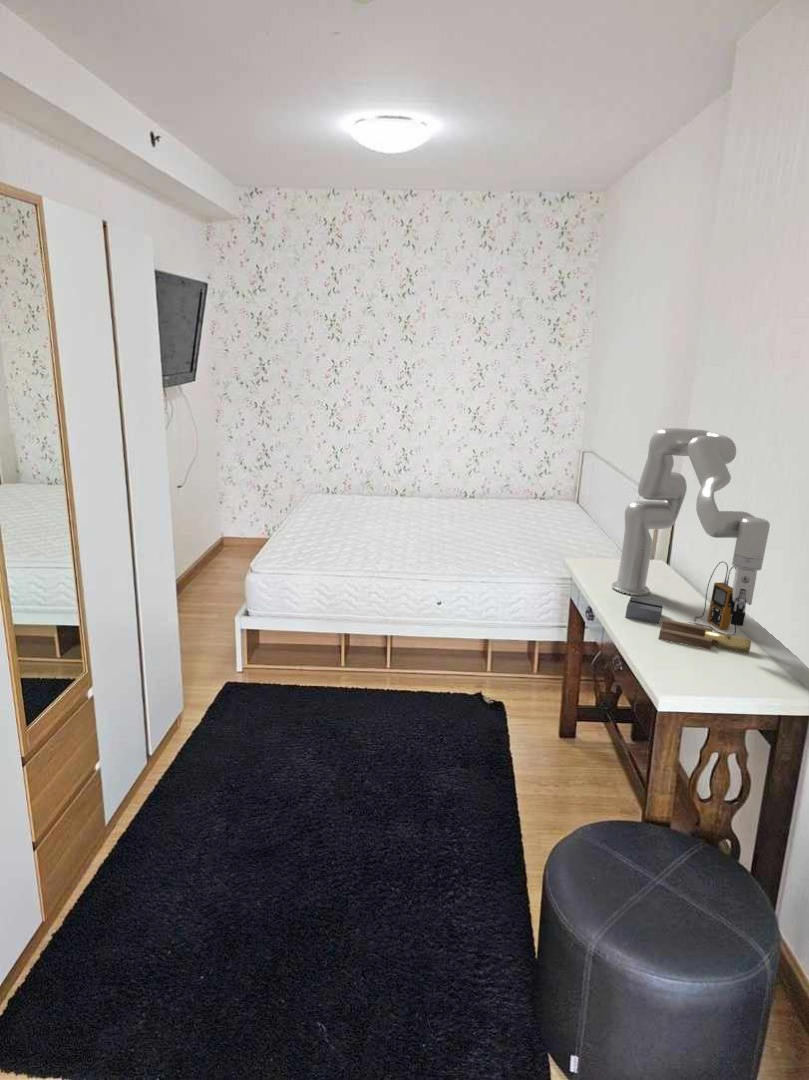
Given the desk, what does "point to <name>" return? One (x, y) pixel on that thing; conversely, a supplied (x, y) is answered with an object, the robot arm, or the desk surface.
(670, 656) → the desk surface
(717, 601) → the multimeter
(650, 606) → the v block
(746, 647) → the axle
